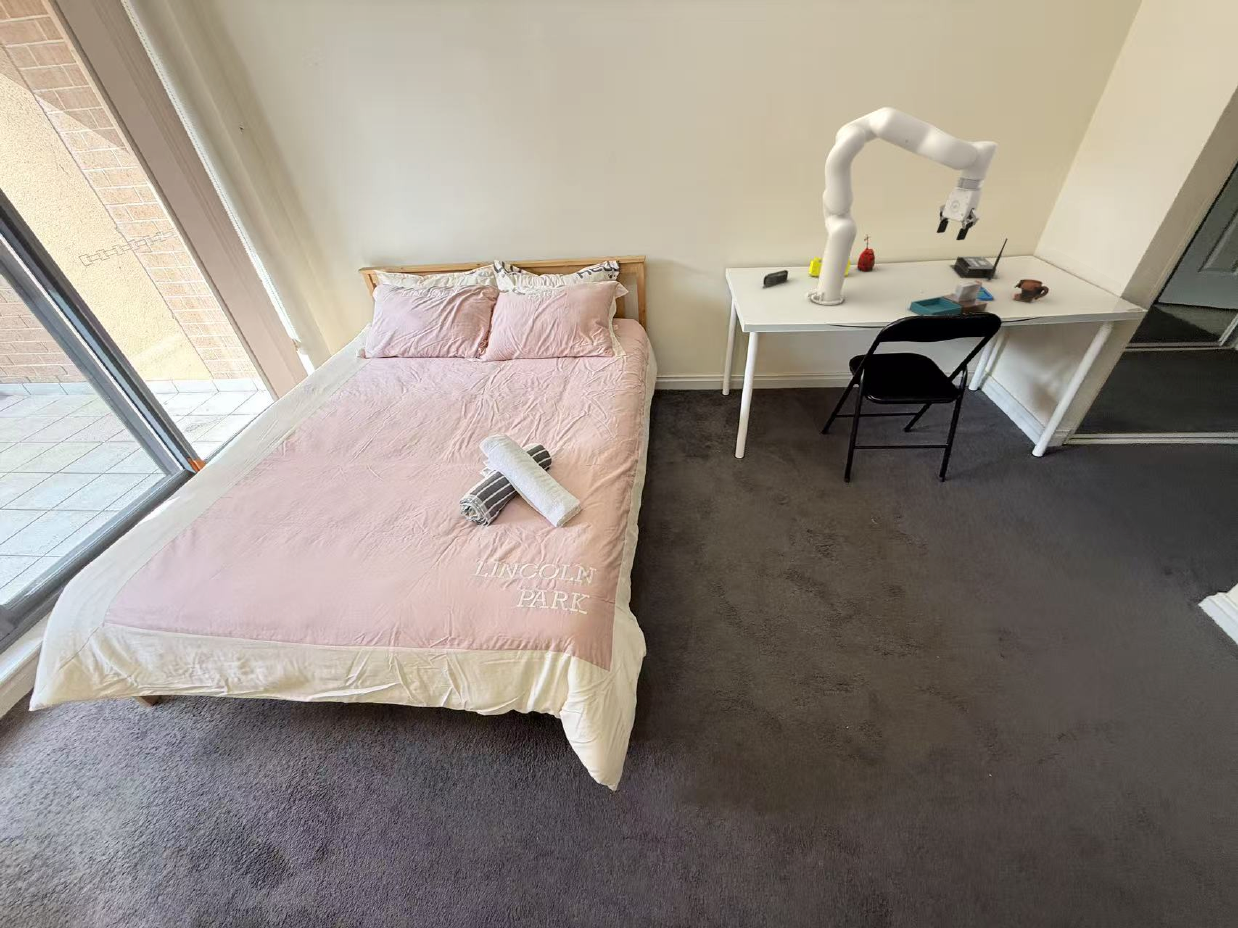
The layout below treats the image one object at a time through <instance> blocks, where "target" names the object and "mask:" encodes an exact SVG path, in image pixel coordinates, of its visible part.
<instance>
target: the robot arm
mask: <svg viewBox="0 0 1238 928" xmlns="http://www.w3.org/2000/svg"><path fill="white" fill-rule="evenodd" d="M876 139H881V140H882V141H884V142H886V143H890V144H891V145H894V146H896V147H899V148H901V149H903V150H906V151H907V152H910V153H913V154H915V155H917V156H919V157H924V158H926V159H930V160H931V161H934V162H936V163H939V164H941V165H943V166H945V167H948V168H950V169H952V170H954V171H962V172H961V173H960V177H959V178H958V179H957V185H955V186H954V187H953V189H952V190H951V192H950V194H949V196H948V199H947V201H946V203H945V204H942V205H941V206H939V224H938V226H937V230H936V234H941V233H945V232H946V230H947V228H948V225H949V223H950V221H949V220H951V221H954V222H959V223H961V227H960V228H959V231H958V233H957V236H956V239H955V240H956V241H964V240H965V239H966V237H967V234H968V232H969V230H970V229H972V228H973V227H974V226H975V225H976V224H977V222H978V221H979V220H980V219H981V217H980V214H979V213H978V212H977V209H978V207H979V203H980V200H981V196H982V193H983V192H982V191H983V190H982V188H983V185H984V183H985V181H986V178H987V175H988V173H989V171H990V168H991V166H992V163H993V161H994V158H995V156H996V154H997V150H998V147H999V145H998V143H997V142H995V141H990V140H981V141H969V140H962V139H960V138H957V137H955V136H953V135H951V134H949V133H947V132H945V131H943V130H941V129H939V127H936V126H935V125H933V124H930V123H929V122H927V121H925V120H922V119H920V118H917V117H915V116H912V115H910V114H908V113H905V112H904V111H901V110H899V109H896V108H893V107H891V106H884V107H881V108H879V109H876V110H874V111H872V112H870V113H867V114H866V115H863V116H861V117H859V118H857V119H854V120H852V121H850V122H847V123H845V124H844V125H843V126H842V127H840V128H839V130H837V132H836V135H835V140H834V141H835V144H834V145H833V147H832V148H831V150H830V152H829V153H828V156H827V158H826V160H825V165H824V183H825V189H824V190H823V193H822V211H823V221H824V228H825V231H826V233H827V241H826V244H825V248H824V252H823V255H822V258H823V261H822V266H821V270H820V275H819V277H818V281H817V287H814V289H813V290H812V291H807V292H805V293H804V297H805V298H810V300H812V302H814V303H816V304H818V305H824V306H836V305H840V304H842V303H843V301H844V296H843V294H842V290H843V285H844V282H845V277H846V275H845V273H846V269H847V265H848V260H850V255H851V252H852V248H853V246H854V243H855V240H856V237H857V232H858V229H857V224H856V222H855V220H854V219H853V217H852V213H851V207H852V205H853V201H854V194H853V185H852V164H853V161H854V159H855V157H856V156H857V155H858V154H859V153H860V152H861V151H862V150H863V149H864V147H865V144H867V143H869V142H872V141H874V140H876Z"/></svg>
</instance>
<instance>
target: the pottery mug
mask: <svg viewBox="0 0 1238 928" xmlns="http://www.w3.org/2000/svg"><path fill="white" fill-rule="evenodd" d="M1043 284H1044V283H1043V281H1041V280H1037V279H1030V278H1029V279H1028V278H1027V279H1026V278H1023V279H1020V280H1019V282H1018V283H1017V284H1016V285H1015V286H1013V287H1014V289H1016V288H1018V289H1021V290H1020V291H1021V292H1020V293H1015V295H1014V298H1013V300H1014V301H1023V302H1027V303H1031V302H1032V301H1033V300H1035V301H1037V300H1039V299H1042V298H1044V297H1046V296H1047V295H1048V294H1049V291H1050V288H1049V287H1048V286H1045V285H1043Z"/></svg>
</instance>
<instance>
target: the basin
mask: <svg viewBox="0 0 1238 928" xmlns="http://www.w3.org/2000/svg"><path fill="white" fill-rule="evenodd" d="M909 305H910V306H909V308H908V310H910V311H912V312H914V313H916V314H917V315H919V316H921V315H948V314H949V315H952V314H960V313H961V310H962V308H963V307H961V306H959V305H957V304H955V303H953V302H950V301H949V300H947V299H944V298H942V297H941V296H937V297H931V298H925V299H920V300H914V301H911V302H910V304H909ZM960 315H961V314H960Z"/></svg>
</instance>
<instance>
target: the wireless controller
mask: <svg viewBox="0 0 1238 928" xmlns="http://www.w3.org/2000/svg"><path fill="white" fill-rule="evenodd" d="M1007 241H1008V238H1005V240H1004V241H1003V245H1002V247H1001V249H1000V251H999V253H998V254H997V258H996V259H995V262H994V264H992V263H991V262H990V261H989V260H988V259H987V258H986V257H984V256H957V258H956V260H955V263H954V264H951V265H950V267H951V268H952V269H953V270H954V272H955V273H956V274H957V275H958V276H959V277H960V278H961V279H963V278H966V279H987V281H991V280H992V279H997V278H998V277H997V276H996V275H995V274H996V271H997V267H998V264H999V263H1000V260H1001V257H1002V254H1003V251H1004V248H1005V246H1006V244H1007Z"/></svg>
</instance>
